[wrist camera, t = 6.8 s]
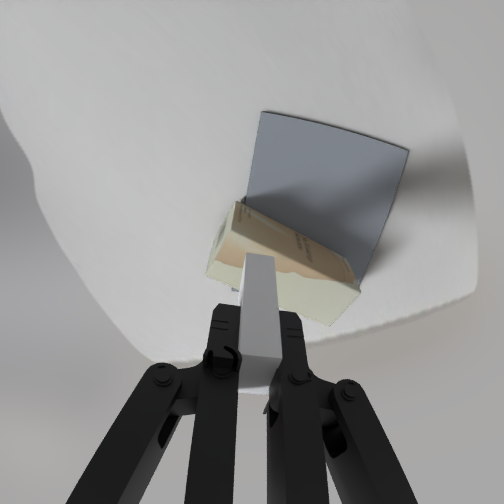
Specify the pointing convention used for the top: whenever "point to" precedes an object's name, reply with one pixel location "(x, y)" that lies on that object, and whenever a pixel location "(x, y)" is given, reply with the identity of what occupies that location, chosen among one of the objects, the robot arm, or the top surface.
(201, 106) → the top surface
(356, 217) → the mat
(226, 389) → the robot arm
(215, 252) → the box
